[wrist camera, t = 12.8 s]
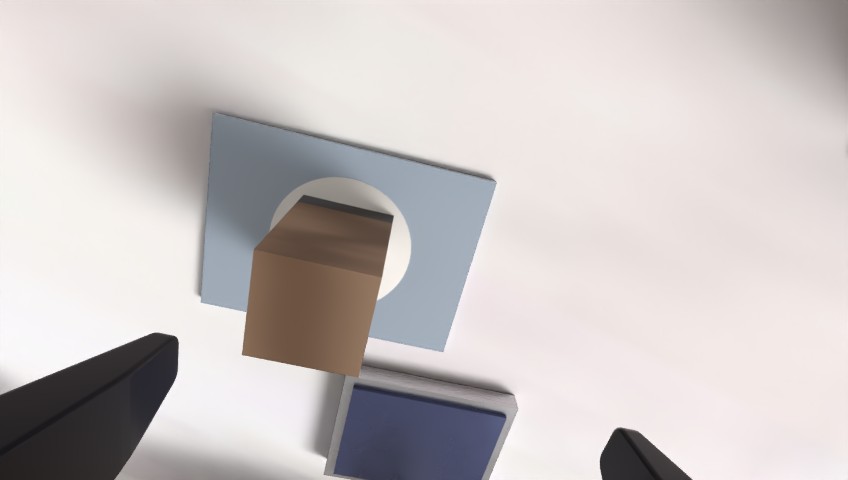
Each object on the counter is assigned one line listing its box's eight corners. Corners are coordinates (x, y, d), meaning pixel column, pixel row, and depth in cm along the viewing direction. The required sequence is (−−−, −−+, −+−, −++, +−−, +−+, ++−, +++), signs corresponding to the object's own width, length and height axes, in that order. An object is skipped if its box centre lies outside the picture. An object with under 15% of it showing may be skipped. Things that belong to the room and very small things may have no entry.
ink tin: (514, 395, 23) (519, 412, 22) (477, 486, 26) (479, 505, 25) (348, 362, 23) (344, 378, 22) (327, 459, 25) (322, 478, 24)
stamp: (394, 215, 19) (382, 277, 14) (375, 293, 21) (358, 377, 15) (303, 194, 19) (253, 249, 13) (291, 275, 20) (241, 354, 15)
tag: (495, 181, 19) (496, 183, 19) (442, 348, 22) (443, 352, 22) (216, 112, 18) (212, 113, 18) (203, 299, 21) (200, 302, 21)
